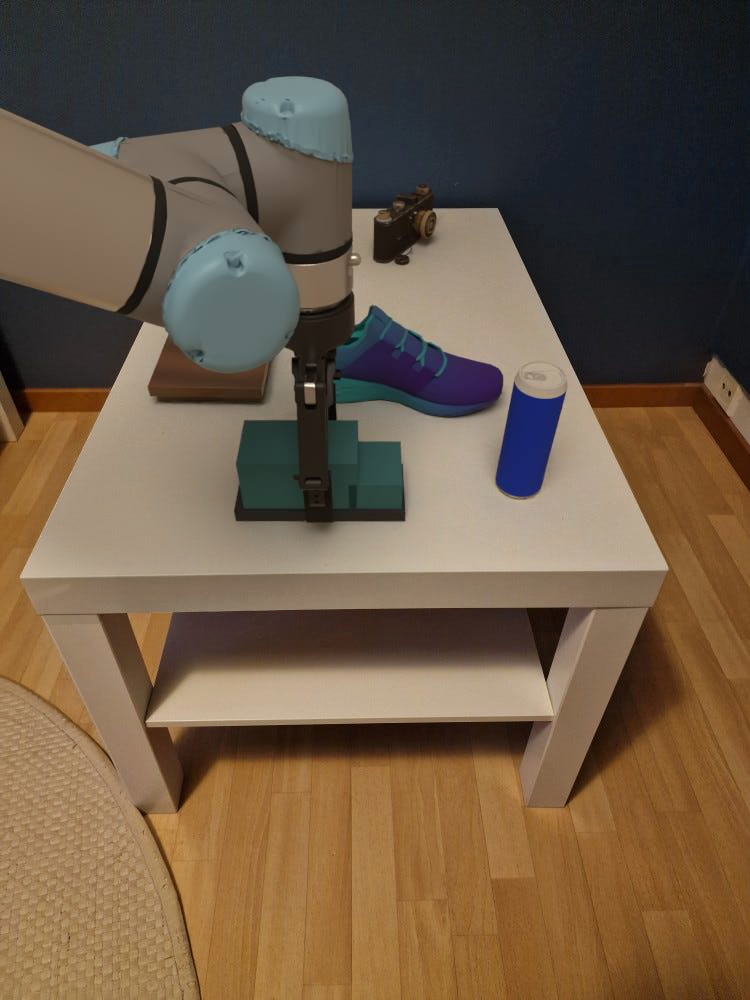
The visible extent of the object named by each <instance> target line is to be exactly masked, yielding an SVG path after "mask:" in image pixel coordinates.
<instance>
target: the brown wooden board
mask: <svg viewBox="0 0 750 1000" xmlns="http://www.w3.org/2000/svg"><path fill="white" fill-rule="evenodd" d="M167 334H168V333H167ZM161 349H162V350H161V351H160V355H159V357H158V359H157V362H156V364H155V367H154V368H153V372H152V375H151V377H150V379H149V382H148V384H147V390H148V393H149V397H157V401H158V402H187V403H189V402H190V403H192V402H193V403H194V402H196V403H197V402H198V403H257V404H258V403H259V404H260V403H261V402H262V399H263V398H264V397H263V396H264V392H265V387H266V382H267V377H268V372H269V367H270V361H271V360H270V361H268V362H267V363H265V364H263V365H261V366H259V367H257V368H254V369H252V370H248V371H244V372H238V373H220V372H215V371H211V370H208V369H205V368H203V367H201V366H199V365H198V364H196V363H195V362H193V361H192V360H191V359H189V358H188V357H187V356H186V355H185V354H184V353H183V352H182V350H181V349H180V348H179V347H178V346H177V345H175V344H174V343H173V342H172V340H171V339H170V337H169V334H168V335H167V337H166V339H165V342H164V344H163V347H162V348H161Z"/></svg>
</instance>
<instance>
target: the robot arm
mask: <svg viewBox="0 0 750 1000" xmlns="http://www.w3.org/2000/svg"><path fill="white" fill-rule="evenodd" d="M241 105H242V110H241V112H240V120H241V121H238V122H232V123H229V124H227V125H222V126H221V125H220V126H215V127H207V128H200V129H192V130H185V131H178V132H177V131H175V132H169V133H161V134H155V135H146V136H138V137H132V138H129V137H126V136H120V137H117V138H116V139H115V140H111V141H106V142H102V143H98V144H94V145H86V144H83V143H82V142H80V141H79V142H78V141H77V140H75V139H72V138H70V137H67V136H65V135H63V134H61V133H59V132H56V131H54V130H52V129H49V128H47V127H45V126H42V125H40V124H38V123H35V122H33V121H31V120H29V119H26V118H24V117H22V116H19V115H18V114H15V113H13V112H10V111H9V110H6V109H3V108H2V107H0V279H1V280H3V281H8V282H11V283H14V284H17V285H21V286H25V287H28V288H31V289H35V290H38V291H40V292H41V291H42V292H45V293H48V294H52V295H55V296H59V297H61V298H65V299H67V300H72V301H74V302H79V303H81V304H85V305H89V306H92V307H95V308H98V309H102V310H106V311H108V312H112V313H115V314H119V315H122V316H124V317H128V318H130V319H134V320H137V321H139V322H143V323H147V324H150V325H153V326H157V327H160V328H163V329H164V330H165V332H167V334H169V337H170V339H171V340H172V342H173V343H174V344H175V345H177V346H178V347H179V348H180V349H181V350H182V352H183V353H184V354H185V355H186V356H187V357H188V358H189V359H191V360H192V361H193V362H195V363H196V364H198V365H199V366H201V367H203V368H205V369H208V370H211V371H215V372H220V373H238V372H244V371H248V370H252V369H254V368H257V367H259V366H261V365H263V364H265V363H267V362H268V361H271V360H273V359H274V358H275V357H276V356H278V355H279V354H280V353H281V351H282V350H284V349H286V350H289V351H292V352H293V355H294V356H291V360H290V361H291V363H290V365H291V374H292V376H293V378H294V385H293V391H294V403H295V404H296V405H295V406H296V420H297V427H298V452H299V474H294V475H293V480H294V481H299V482H298V484H299V489H300V490H303V497H304V507H305V517H306V521H305V523H306V524H318V523H319V524H333V523H334V521H333V500H332V483H331V470H329V454H328V420H338V416H337V414H338V413H337V402H336V390H335V383H333V380H341V369H336V357H337V347H339V346H341V345H343V344H344V343H346V342H347V341H348V340H349V339H350V338H351V336H352V335H353V332H354V329H355V325H356V312H355V311H356V309H355V306H356V305H355V303H356V302H355V294H354V291H353V289H354V267H357V266H359V265H360V264H361V263H362V256H361V255H360V253H358V252H353V250H354V249H353V248H354V247H353V241H354V236H353V235H354V234H353V233H354V231H353V162H354V158H355V156H354V152H353V143H352V141H353V139H352V127H351V126H352V125H351V120H350V111H349V103H348V100H347V97H346V95H345V94H344V93H343V91H342V90H341V89H340V88H339V87H337V86H335V85H334V84H333V83H331V82H329V81H327V80H324V79H320V78H315V77H309V76H300V75H299V76H297V75H295V76H289V75H288V76H279V77H271V78H268V79H267V80H265V81H259V82H258V81H257V82H255V83H252V84H251V85H249V86H248V87H247V88H246V89H245V91H244V92H243V94H242V97H241Z"/></svg>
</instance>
